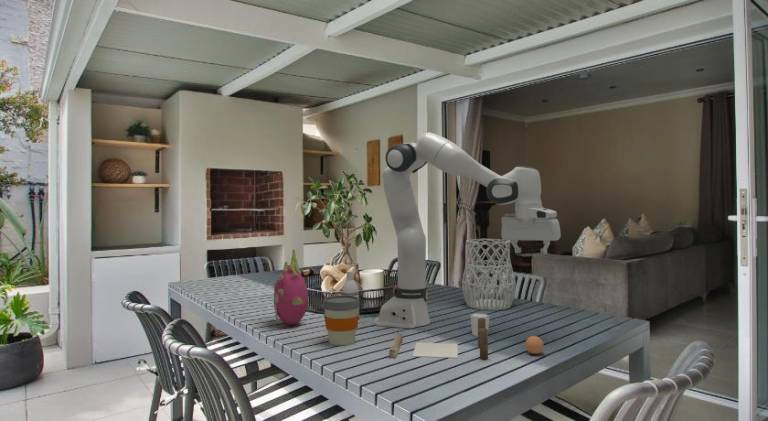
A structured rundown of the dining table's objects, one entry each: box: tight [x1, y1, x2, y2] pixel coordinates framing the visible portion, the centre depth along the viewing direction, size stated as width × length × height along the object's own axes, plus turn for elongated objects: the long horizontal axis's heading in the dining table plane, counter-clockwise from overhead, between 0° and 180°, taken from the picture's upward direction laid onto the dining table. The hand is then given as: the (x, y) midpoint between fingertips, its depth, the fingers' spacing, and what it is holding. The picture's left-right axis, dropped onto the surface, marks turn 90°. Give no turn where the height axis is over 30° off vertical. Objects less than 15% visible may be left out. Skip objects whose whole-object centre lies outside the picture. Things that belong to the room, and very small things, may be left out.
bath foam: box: [341, 270, 360, 320], centre depth 197 cm, size 7×7×20 cm
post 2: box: [479, 328, 489, 361], centre depth 146 cm, size 2×2×9 cm
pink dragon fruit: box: [273, 249, 309, 326], centre depth 189 cm, size 18×14×30 cm
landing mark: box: [412, 342, 459, 359], centre depth 155 cm, size 14×14×1 cm
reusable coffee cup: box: [322, 295, 360, 346], centre depth 166 cm, size 13×13×15 cm
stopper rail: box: [389, 333, 404, 359], centre depth 157 cm, size 2×18×2 cm, turn 171°
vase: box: [461, 238, 517, 311], centre depth 218 cm, size 24×24×30 cm
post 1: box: [477, 318, 486, 348], centre depth 158 cm, size 2×2×9 cm
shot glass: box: [469, 312, 490, 337], centre depth 172 cm, size 7×7×7 cm
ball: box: [524, 335, 544, 355], centre depth 150 cm, size 6×6×6 cm
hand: (530, 253), depth 163 cm, fingers open, 8 cm apart
